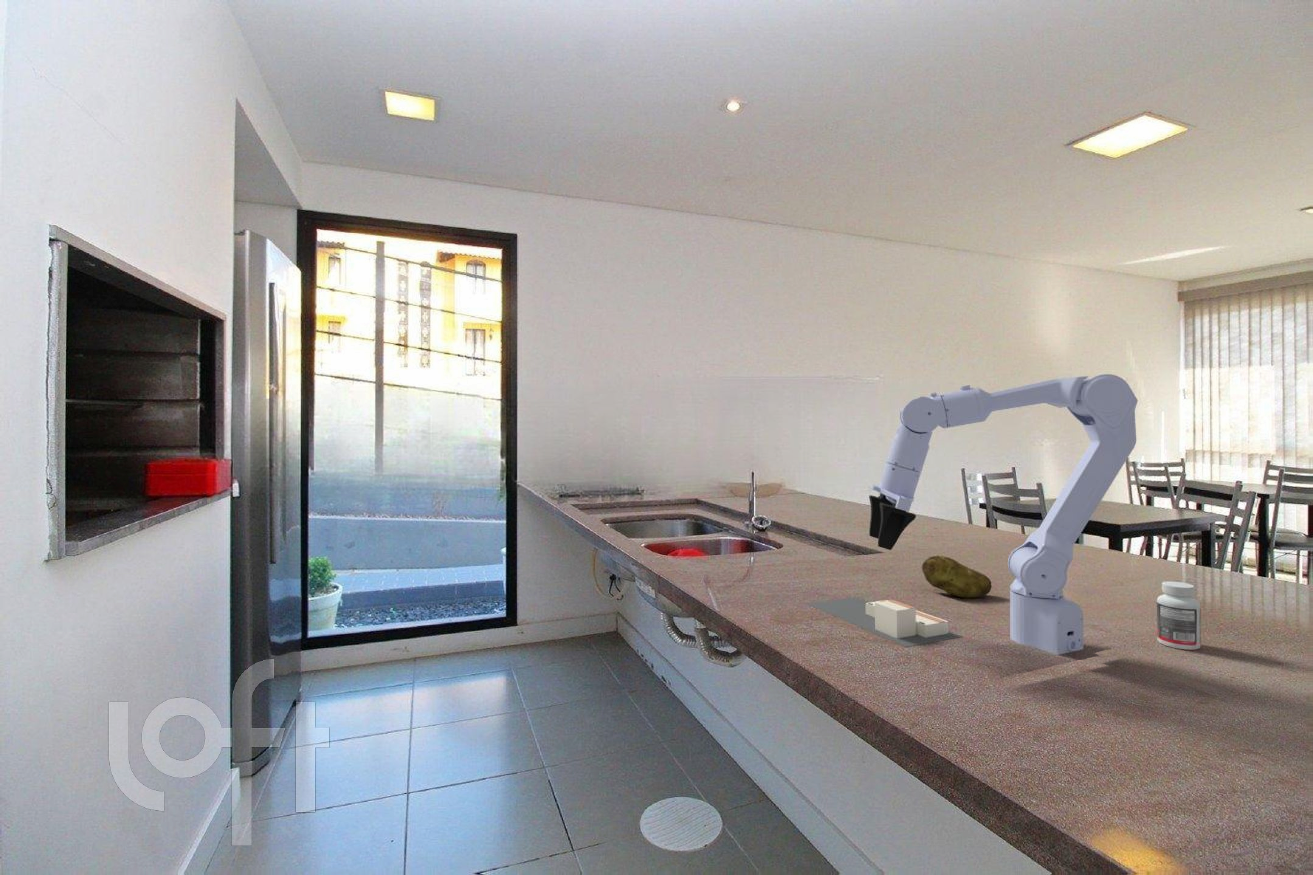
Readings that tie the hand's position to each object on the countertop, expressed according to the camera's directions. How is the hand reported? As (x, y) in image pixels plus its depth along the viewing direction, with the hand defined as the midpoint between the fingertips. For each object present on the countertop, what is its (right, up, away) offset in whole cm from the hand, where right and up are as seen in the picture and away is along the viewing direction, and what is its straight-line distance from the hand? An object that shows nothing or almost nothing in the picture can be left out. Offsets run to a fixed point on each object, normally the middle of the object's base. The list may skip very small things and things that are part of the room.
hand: (879, 542), depth 105 cm
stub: (+2, -14, -3) cm, 15 cm away
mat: (+1, -16, +4) cm, 16 cm away
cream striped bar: (+5, -14, +2) cm, 15 cm away
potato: (+25, -15, +24) cm, 38 cm away
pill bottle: (+46, -15, -7) cm, 49 cm away
